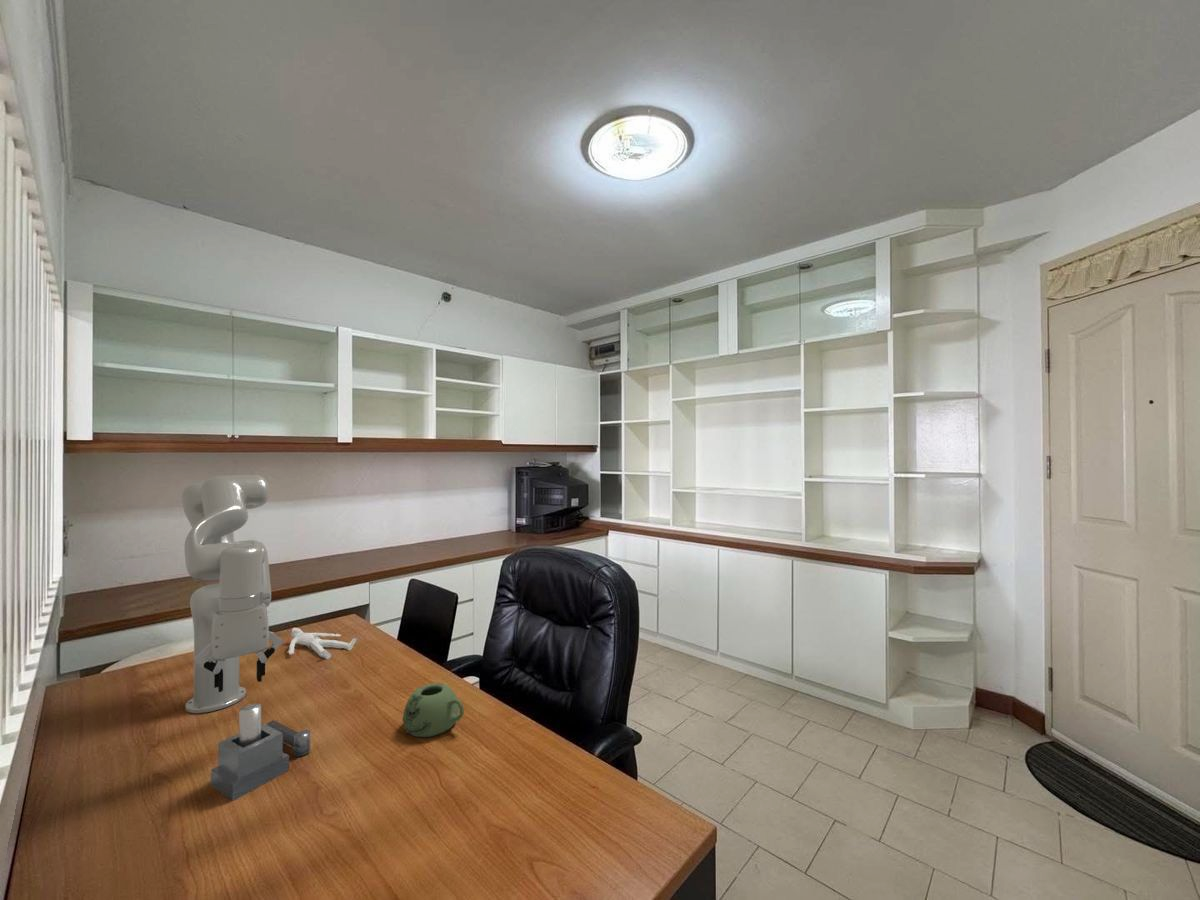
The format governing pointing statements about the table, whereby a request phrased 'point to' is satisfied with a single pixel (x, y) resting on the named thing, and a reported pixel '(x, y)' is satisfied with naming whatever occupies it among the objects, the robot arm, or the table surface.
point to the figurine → (317, 642)
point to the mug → (431, 710)
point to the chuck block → (249, 763)
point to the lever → (293, 738)
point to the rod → (249, 724)
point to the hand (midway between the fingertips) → (240, 683)
